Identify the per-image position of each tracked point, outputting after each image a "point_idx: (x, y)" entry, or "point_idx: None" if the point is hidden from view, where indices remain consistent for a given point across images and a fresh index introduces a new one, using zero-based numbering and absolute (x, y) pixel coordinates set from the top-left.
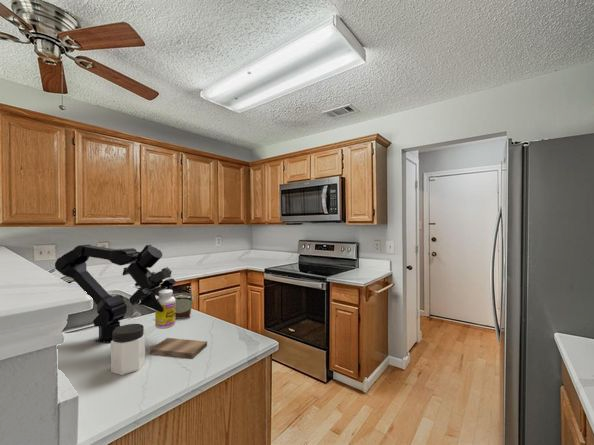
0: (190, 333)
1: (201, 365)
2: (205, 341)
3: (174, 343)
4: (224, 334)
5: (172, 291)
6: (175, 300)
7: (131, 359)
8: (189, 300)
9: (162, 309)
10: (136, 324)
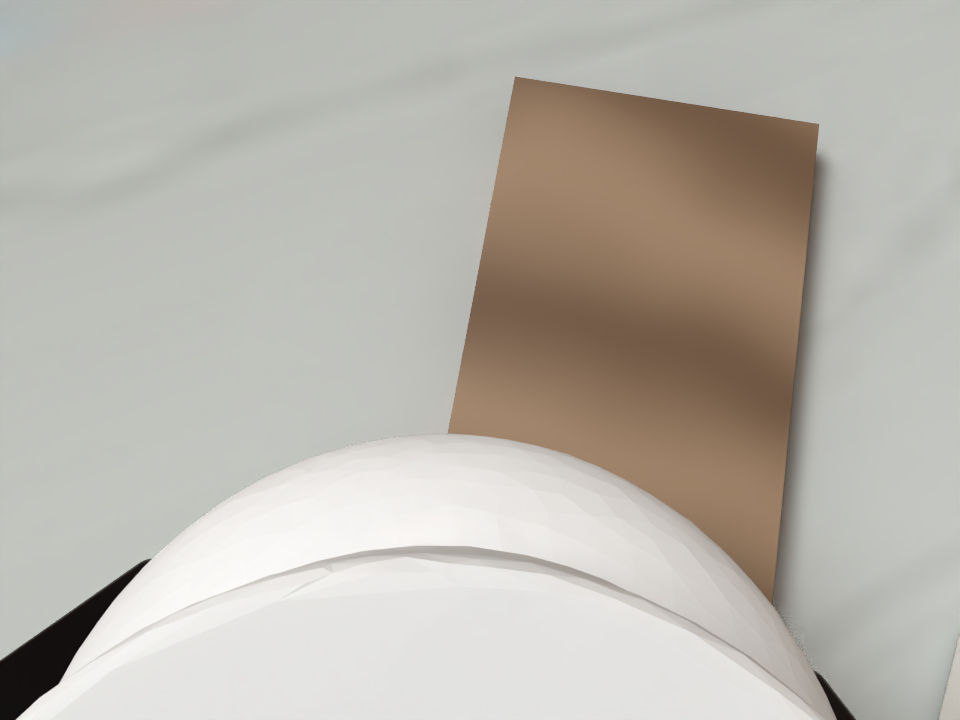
0: (156, 422)
1: (924, 26)
2: (515, 93)
3: (584, 446)
4: (213, 4)
5: (317, 567)
6: (320, 456)
7: None
8: None
9: (837, 698)
10: None
